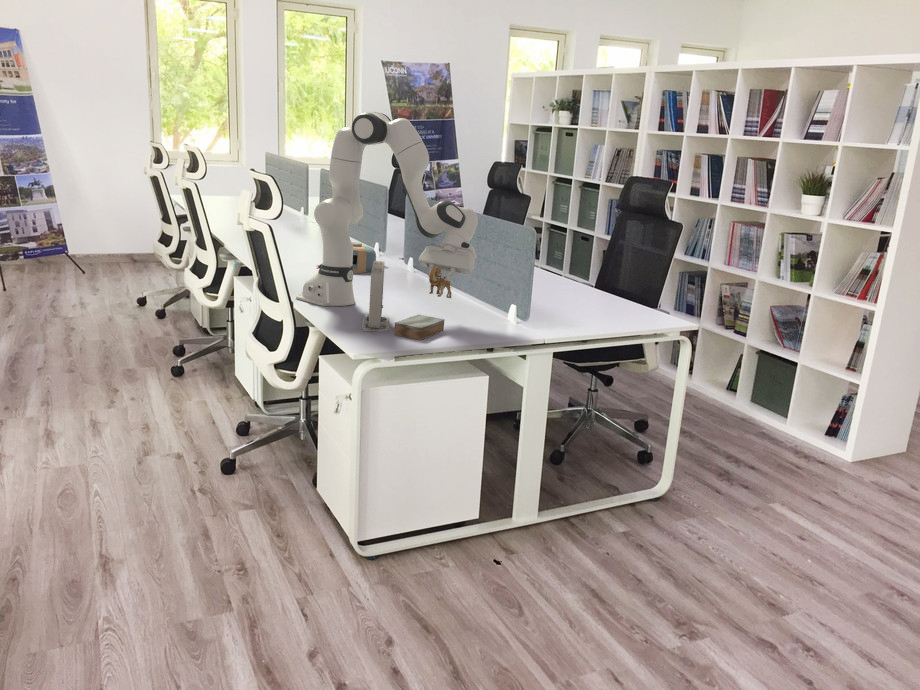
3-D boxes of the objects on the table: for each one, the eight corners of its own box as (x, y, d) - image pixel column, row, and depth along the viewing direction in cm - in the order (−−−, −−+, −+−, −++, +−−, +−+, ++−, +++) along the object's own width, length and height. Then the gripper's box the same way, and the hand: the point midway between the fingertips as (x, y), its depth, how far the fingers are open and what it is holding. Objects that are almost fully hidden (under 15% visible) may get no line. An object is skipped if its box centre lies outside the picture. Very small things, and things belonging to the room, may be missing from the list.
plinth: (393, 334, 261) (394, 322, 260) (418, 325, 275) (418, 314, 274) (420, 340, 257) (421, 328, 256) (443, 330, 271) (444, 319, 270)
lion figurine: (438, 292, 272) (441, 266, 272) (424, 291, 274) (427, 265, 274) (453, 299, 285) (456, 274, 286) (440, 298, 287) (442, 274, 288)
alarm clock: (326, 269, 364) (327, 243, 361) (344, 263, 382) (345, 238, 379) (364, 274, 359) (366, 248, 356) (381, 268, 377) (383, 243, 374)
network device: (364, 315, 284) (367, 259, 279) (389, 316, 285) (392, 261, 279) (361, 333, 259) (363, 272, 254) (388, 334, 260) (391, 274, 255)
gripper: (425, 238, 285) (409, 268, 279) (476, 246, 277) (461, 277, 271) (430, 249, 290) (415, 279, 285) (480, 257, 282) (466, 288, 276)
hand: (438, 278), depth 278 cm, fingers closed on lion figurine, 5 cm apart
